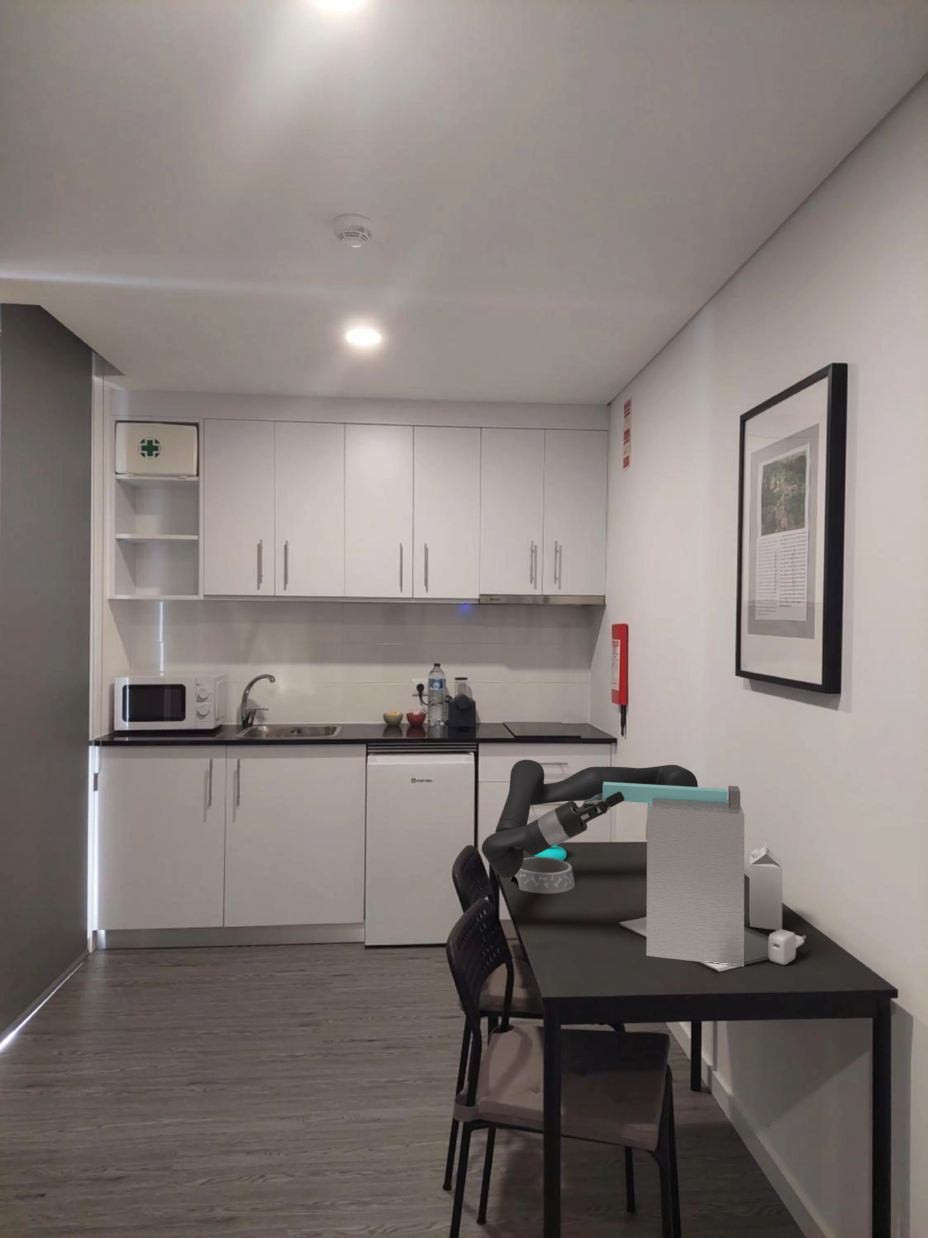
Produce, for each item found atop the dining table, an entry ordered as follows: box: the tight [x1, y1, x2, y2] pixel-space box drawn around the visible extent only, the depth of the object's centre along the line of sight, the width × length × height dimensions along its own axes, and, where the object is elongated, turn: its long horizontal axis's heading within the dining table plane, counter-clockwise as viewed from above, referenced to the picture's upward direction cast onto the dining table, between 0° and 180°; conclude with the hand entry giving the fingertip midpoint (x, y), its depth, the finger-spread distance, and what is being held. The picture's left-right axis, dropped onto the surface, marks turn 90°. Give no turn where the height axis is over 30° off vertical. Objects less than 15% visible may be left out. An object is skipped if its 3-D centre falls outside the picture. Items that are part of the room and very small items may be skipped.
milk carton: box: [749, 841, 783, 931], centre depth 188 cm, size 7×7×19 cm
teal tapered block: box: [603, 782, 728, 804], centre depth 175 cm, size 27×4×4 cm, turn 75°
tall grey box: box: [645, 785, 745, 967], centre depth 173 cm, size 20×14×36 cm
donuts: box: [533, 845, 567, 861], centre depth 241 cm, size 10×10×10 cm
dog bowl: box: [509, 856, 576, 895], centre depth 218 cm, size 17×18×5 cm
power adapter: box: [767, 928, 807, 966], centre depth 169 cm, size 11×5×6 cm, turn 132°
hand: (623, 791), depth 177 cm, fingers open, 8 cm apart
